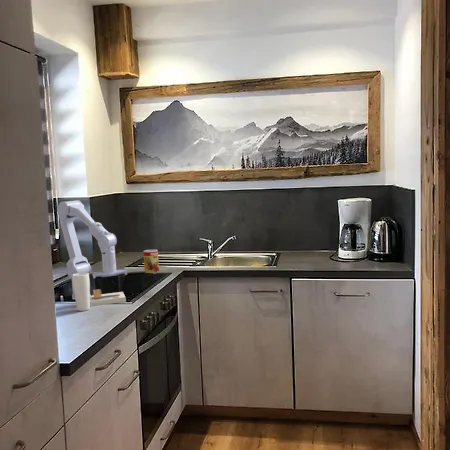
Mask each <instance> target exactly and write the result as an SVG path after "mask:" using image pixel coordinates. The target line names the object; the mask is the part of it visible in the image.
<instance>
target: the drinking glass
mask: <svg viewBox="0 0 450 450" xmlns="http://www.w3.org/2000/svg"><path fill="white" fill-rule="evenodd" d="M72 281H73V289H74V294H75V299H74V300H75V306H76V311H78V312H86V311H89V310H90V309H91V306H90V295H91V292H90V291H91V282H90V281H91V280H90V274H89V273H76V274H73V275H72V279H71V282H72ZM73 289H72V290H73Z"/></svg>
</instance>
